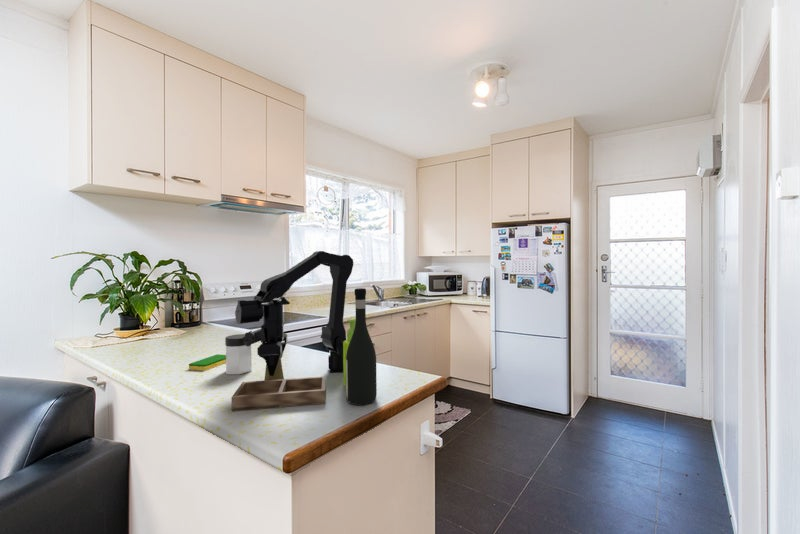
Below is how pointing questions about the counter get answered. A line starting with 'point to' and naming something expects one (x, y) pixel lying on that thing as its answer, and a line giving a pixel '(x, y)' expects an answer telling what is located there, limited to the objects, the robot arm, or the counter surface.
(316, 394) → the holder
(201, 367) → the dish sponge
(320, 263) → the robot arm
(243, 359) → the jar
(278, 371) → the cork
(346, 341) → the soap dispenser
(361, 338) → the wine bottle
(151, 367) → the counter surface
